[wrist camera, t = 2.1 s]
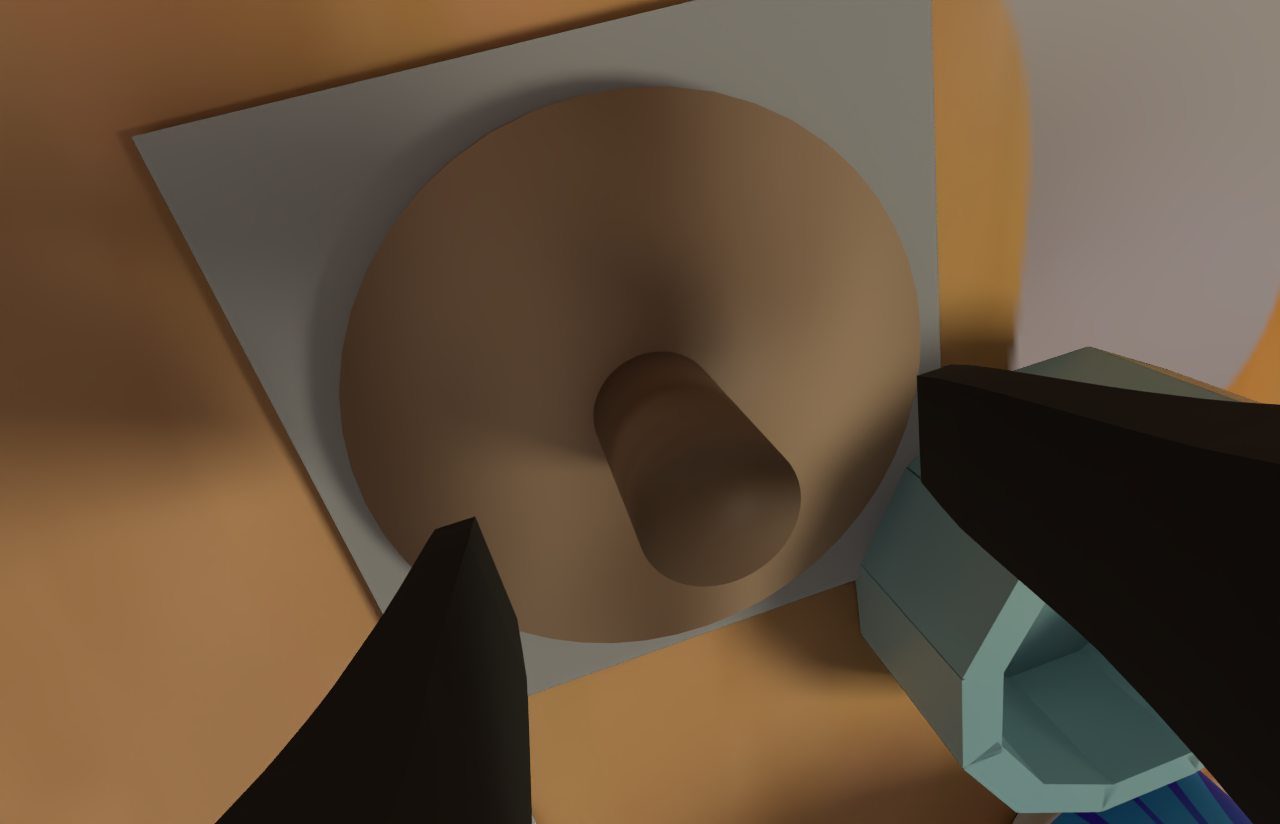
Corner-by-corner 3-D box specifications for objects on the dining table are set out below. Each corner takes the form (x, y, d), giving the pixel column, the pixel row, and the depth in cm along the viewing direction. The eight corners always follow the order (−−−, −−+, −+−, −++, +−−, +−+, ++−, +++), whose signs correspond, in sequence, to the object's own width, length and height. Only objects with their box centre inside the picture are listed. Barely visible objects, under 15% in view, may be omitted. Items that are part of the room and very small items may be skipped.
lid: (468, 683, 16) (467, 884, 12) (226, 186, 11) (70, 229, 7) (910, 529, 18) (1051, 661, 13) (882, 17, 12) (1100, -35, 8)
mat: (442, 713, 17) (441, 726, 17) (141, 136, 11) (130, 136, 10) (936, 539, 19) (945, 548, 18) (916, -52, 12) (930, -58, 12)
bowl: (870, 726, 21) (964, 868, 17) (839, 427, 16) (960, 528, 12) (1169, 612, 22) (1322, 720, 18) (1222, 302, 18) (1445, 357, 13)
